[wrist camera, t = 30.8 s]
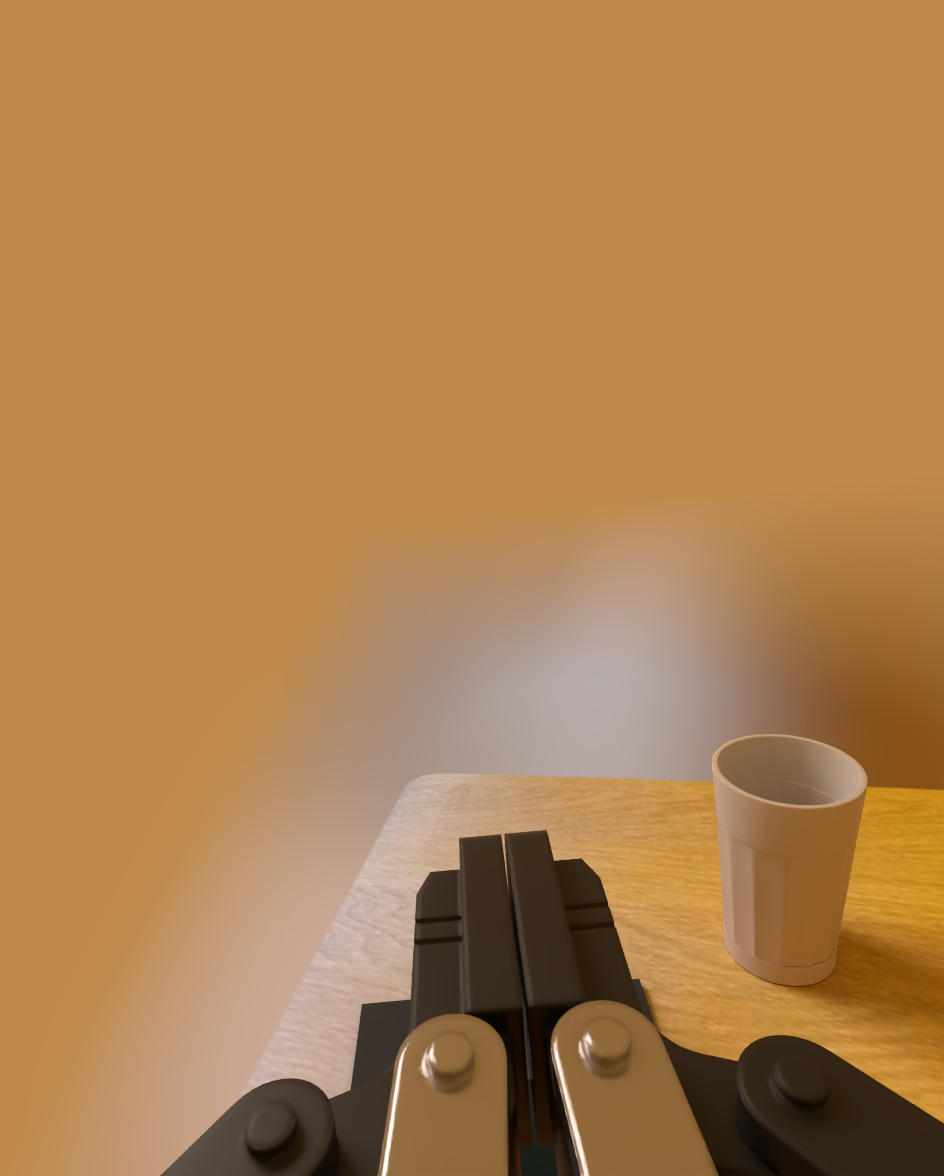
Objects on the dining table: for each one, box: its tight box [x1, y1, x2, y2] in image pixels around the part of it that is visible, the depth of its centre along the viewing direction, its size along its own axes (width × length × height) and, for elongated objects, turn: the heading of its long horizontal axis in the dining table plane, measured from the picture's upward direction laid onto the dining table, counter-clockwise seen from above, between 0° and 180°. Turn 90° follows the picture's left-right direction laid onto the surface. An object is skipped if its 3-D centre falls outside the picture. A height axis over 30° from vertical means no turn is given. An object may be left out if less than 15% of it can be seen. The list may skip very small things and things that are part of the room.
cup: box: [712, 734, 868, 986], centre depth 42 cm, size 8×8×12 cm
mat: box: [351, 979, 655, 1090], centre depth 33 cm, size 16×18×1 cm
